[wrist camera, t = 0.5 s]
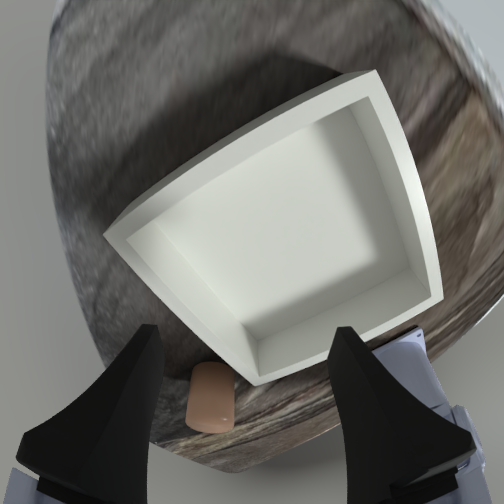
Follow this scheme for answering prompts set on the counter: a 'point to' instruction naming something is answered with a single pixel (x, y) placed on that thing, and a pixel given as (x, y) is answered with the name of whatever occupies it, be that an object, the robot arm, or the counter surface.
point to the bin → (290, 231)
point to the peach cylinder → (211, 398)
